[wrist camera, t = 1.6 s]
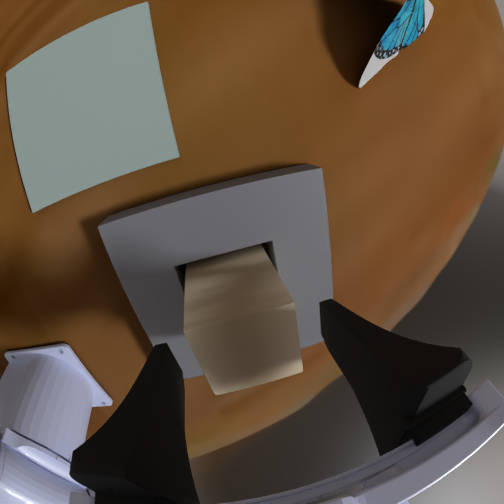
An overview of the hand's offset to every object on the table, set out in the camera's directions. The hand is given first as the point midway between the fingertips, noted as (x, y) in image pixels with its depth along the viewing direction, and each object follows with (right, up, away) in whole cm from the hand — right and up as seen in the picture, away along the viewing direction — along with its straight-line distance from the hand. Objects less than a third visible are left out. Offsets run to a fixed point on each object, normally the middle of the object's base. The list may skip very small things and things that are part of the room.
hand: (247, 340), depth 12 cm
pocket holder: (-1, +2, +5) cm, 6 cm away
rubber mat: (-10, +12, -1) cm, 16 cm away
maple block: (-1, +2, +5) cm, 6 cm away
